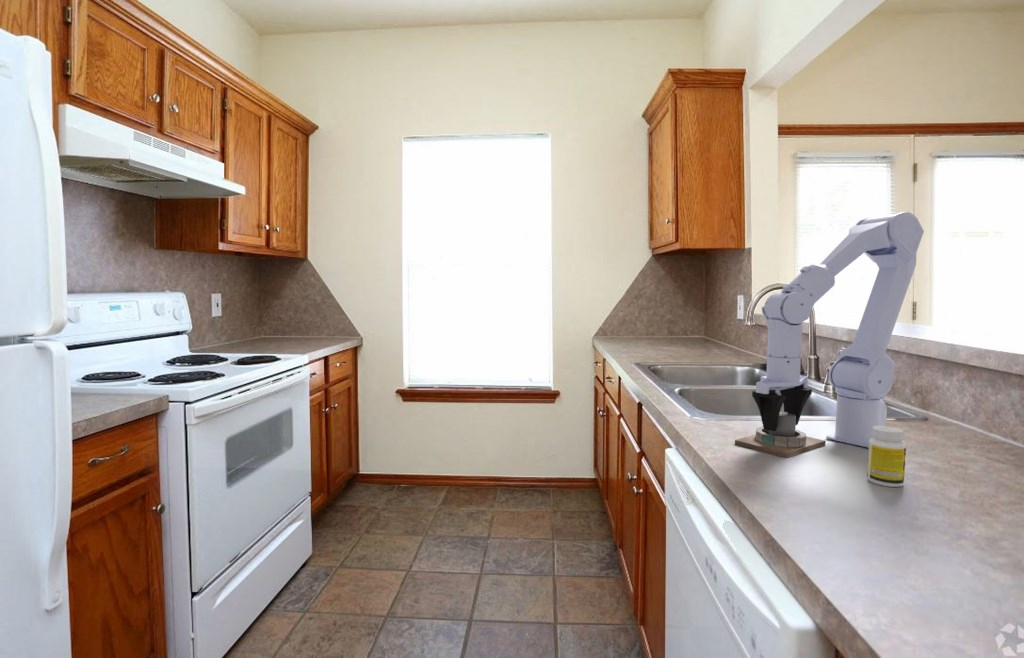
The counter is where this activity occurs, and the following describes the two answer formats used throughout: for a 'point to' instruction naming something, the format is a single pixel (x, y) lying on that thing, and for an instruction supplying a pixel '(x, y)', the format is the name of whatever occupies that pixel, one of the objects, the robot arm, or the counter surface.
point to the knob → (785, 425)
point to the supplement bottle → (886, 456)
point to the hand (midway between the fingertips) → (780, 426)
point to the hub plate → (779, 448)
